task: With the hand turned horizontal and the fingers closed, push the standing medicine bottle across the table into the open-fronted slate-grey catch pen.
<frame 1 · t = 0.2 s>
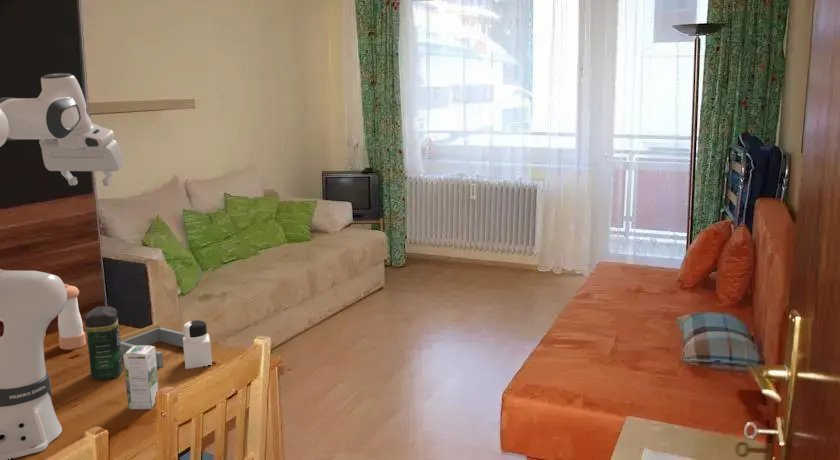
hand: (90, 184, 193), 52 cm above the table, tool tilted 20°, fingers open, 8 cm apart
salt shaker: (73, 345, 225), on the table
coffee jar: (108, 374, 203), on the table
syrup box: (144, 405, 183), on the table
medicine bottle: (198, 363, 209), on the table
catch pen: (181, 358, 212), on the table
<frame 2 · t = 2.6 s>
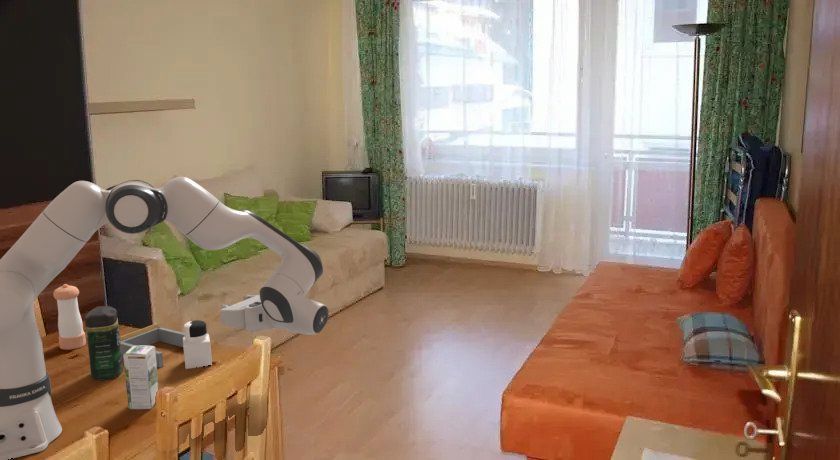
hand: (234, 302, 196), 20 cm above the table, tool horizontal, fingers open, 7 cm apart
nothing on the table moved.
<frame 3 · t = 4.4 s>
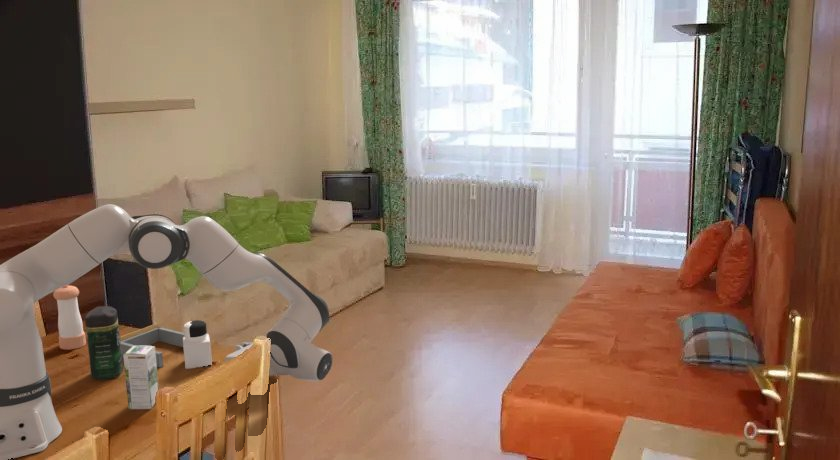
hand: (239, 346, 199), 8 cm above the table, tool horizontal, fingers closed
nothing on the table moved.
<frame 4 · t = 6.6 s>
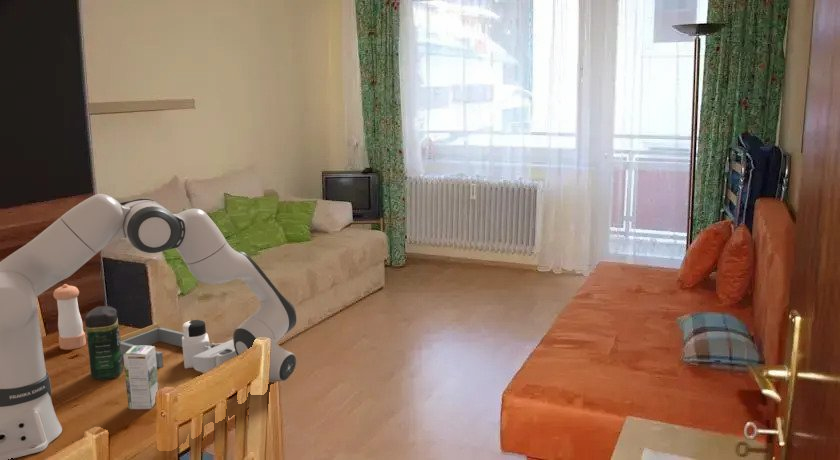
hand: (207, 347, 205), 5 cm above the table, tool horizontal, fingers closed
medicine bottle: (197, 363, 209), on the table, touching gripper
everything else where it was.
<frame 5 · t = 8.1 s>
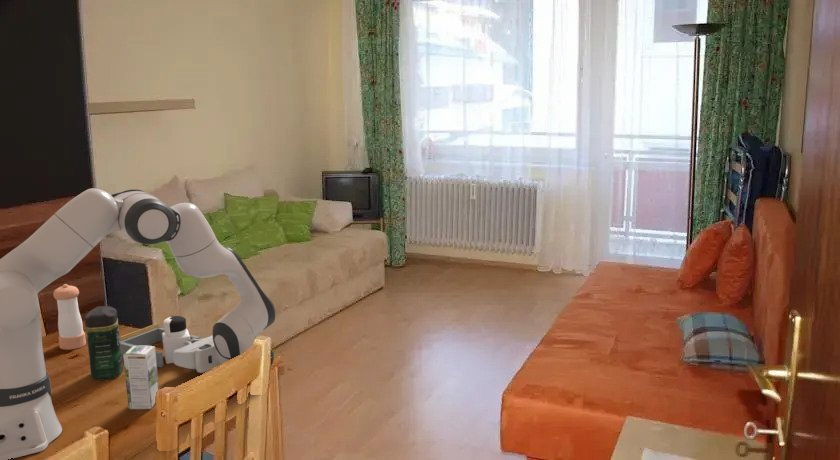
hand: (188, 342, 209), 5 cm above the table, tool horizontal, fingers closed
medicine bottle: (178, 358, 213), on the table, touching gripper
everything else where it was.
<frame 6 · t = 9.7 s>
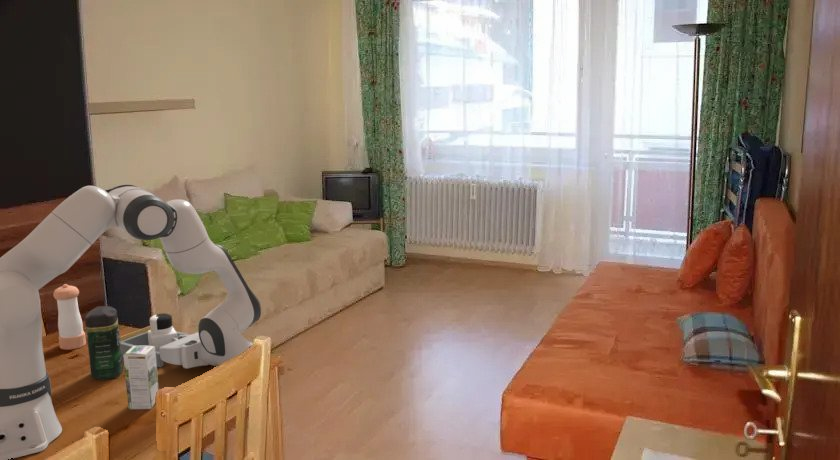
hand: (175, 339, 212), 5 cm above the table, tool horizontal, fingers closed
medicine bottle: (164, 355, 215), on the table, touching gripper
everything else where it was.
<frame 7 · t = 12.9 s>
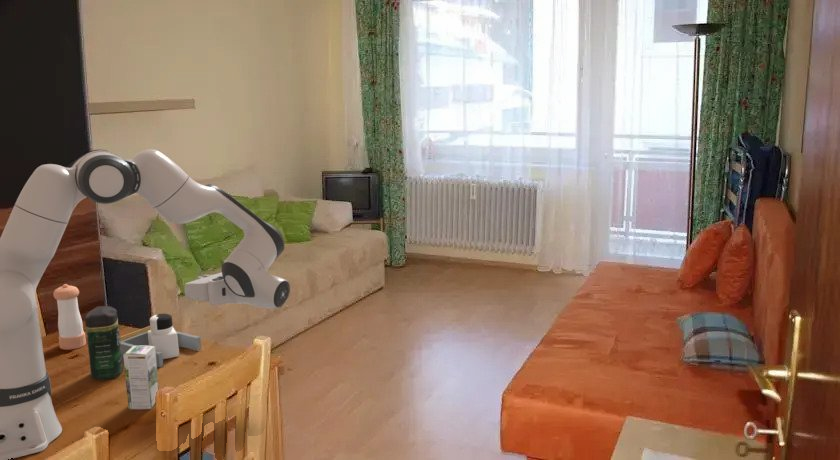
hand: (200, 278, 201), 25 cm above the table, tool horizontal, fingers closed
medicine bottle: (164, 355, 215), on the table
everything else where it was.
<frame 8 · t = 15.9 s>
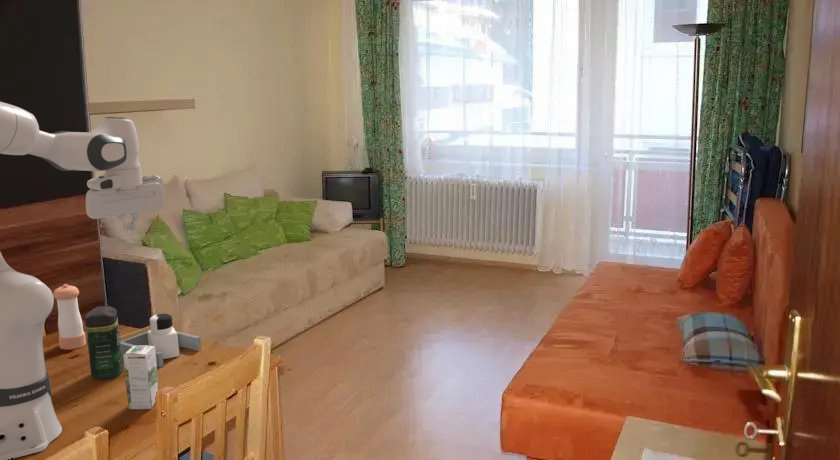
hand: (129, 230, 198), 39 cm above the table, tool pointing down, fingers closed
nothing on the table moved.
at the end: medicine bottle inside the target area on the catch pen (3.4 cm from its centre), point 0.0 cm above the catch pen's base; medicine bottle moved 13.5 cm from its start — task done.
